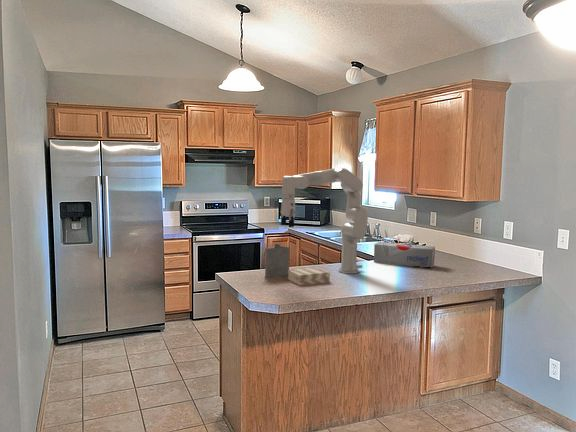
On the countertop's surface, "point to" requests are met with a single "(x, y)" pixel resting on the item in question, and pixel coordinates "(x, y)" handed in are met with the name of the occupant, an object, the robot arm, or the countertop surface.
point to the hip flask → (277, 260)
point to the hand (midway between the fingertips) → (287, 225)
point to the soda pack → (404, 254)
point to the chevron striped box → (308, 276)
